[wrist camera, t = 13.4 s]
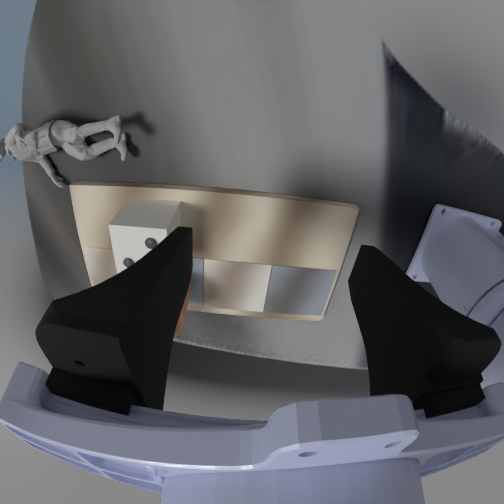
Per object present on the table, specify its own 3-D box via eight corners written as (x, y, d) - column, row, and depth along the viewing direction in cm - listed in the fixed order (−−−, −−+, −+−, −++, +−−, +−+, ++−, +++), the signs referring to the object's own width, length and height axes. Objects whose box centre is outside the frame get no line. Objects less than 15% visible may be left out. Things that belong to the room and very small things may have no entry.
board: (356, 204, 22) (359, 209, 21) (320, 314, 29) (321, 321, 28) (74, 181, 21) (68, 185, 20) (97, 291, 28) (94, 297, 27)
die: (180, 201, 21) (166, 230, 18) (181, 246, 23) (169, 280, 20) (129, 197, 21) (107, 225, 18) (134, 242, 23) (116, 274, 20)
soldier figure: (134, 178, 22) (10, 210, 19) (131, 129, 23) (13, 161, 20) (115, 124, 15) (-40, 176, 12) (116, 68, 15) (-27, 118, 12)
